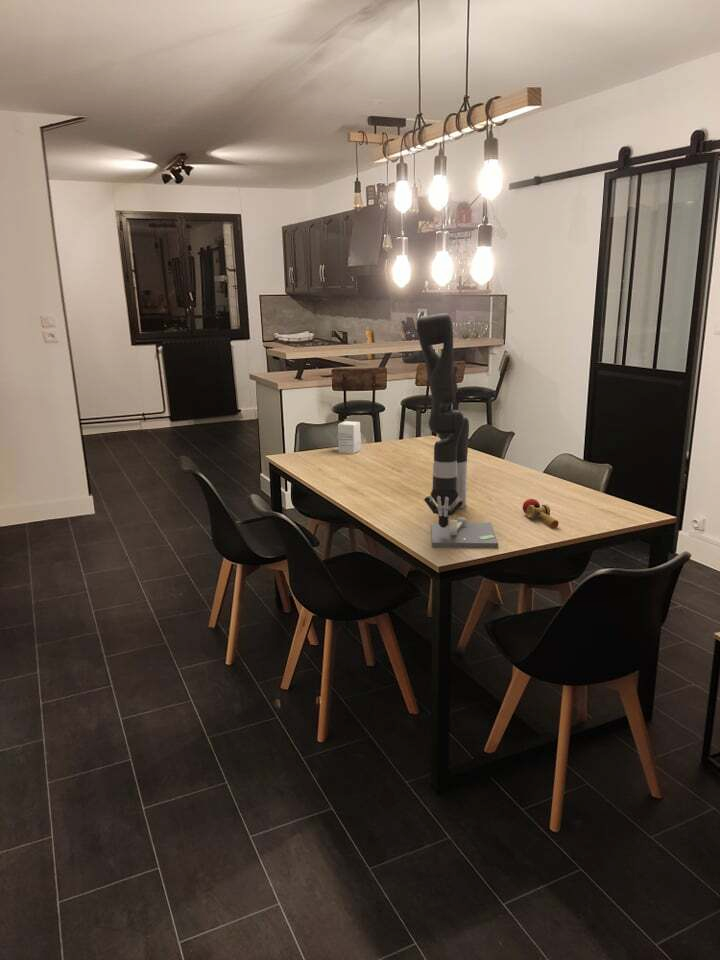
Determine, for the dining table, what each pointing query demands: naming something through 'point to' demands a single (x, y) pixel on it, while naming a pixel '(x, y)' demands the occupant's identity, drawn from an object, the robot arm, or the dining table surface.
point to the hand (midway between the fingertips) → (443, 526)
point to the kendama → (539, 512)
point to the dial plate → (465, 536)
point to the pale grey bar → (456, 525)
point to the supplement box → (349, 436)
